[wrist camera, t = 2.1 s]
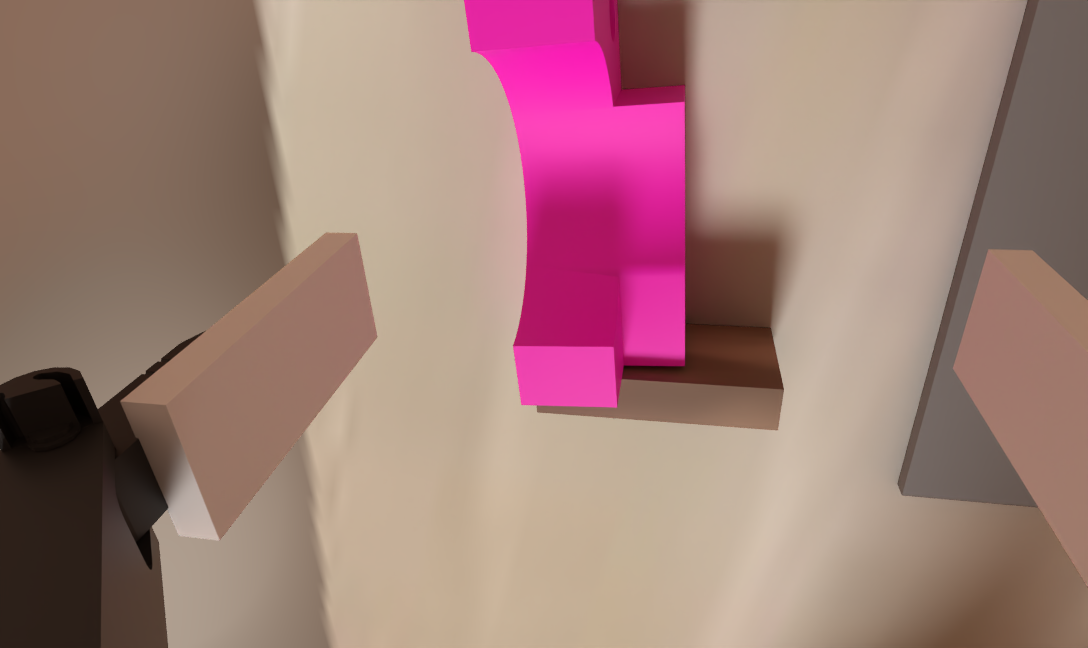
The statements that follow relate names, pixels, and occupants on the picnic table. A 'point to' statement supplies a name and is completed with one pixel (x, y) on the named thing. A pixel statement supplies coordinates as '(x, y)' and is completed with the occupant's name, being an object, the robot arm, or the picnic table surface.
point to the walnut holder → (703, 383)
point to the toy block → (589, 199)
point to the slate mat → (1010, 245)
